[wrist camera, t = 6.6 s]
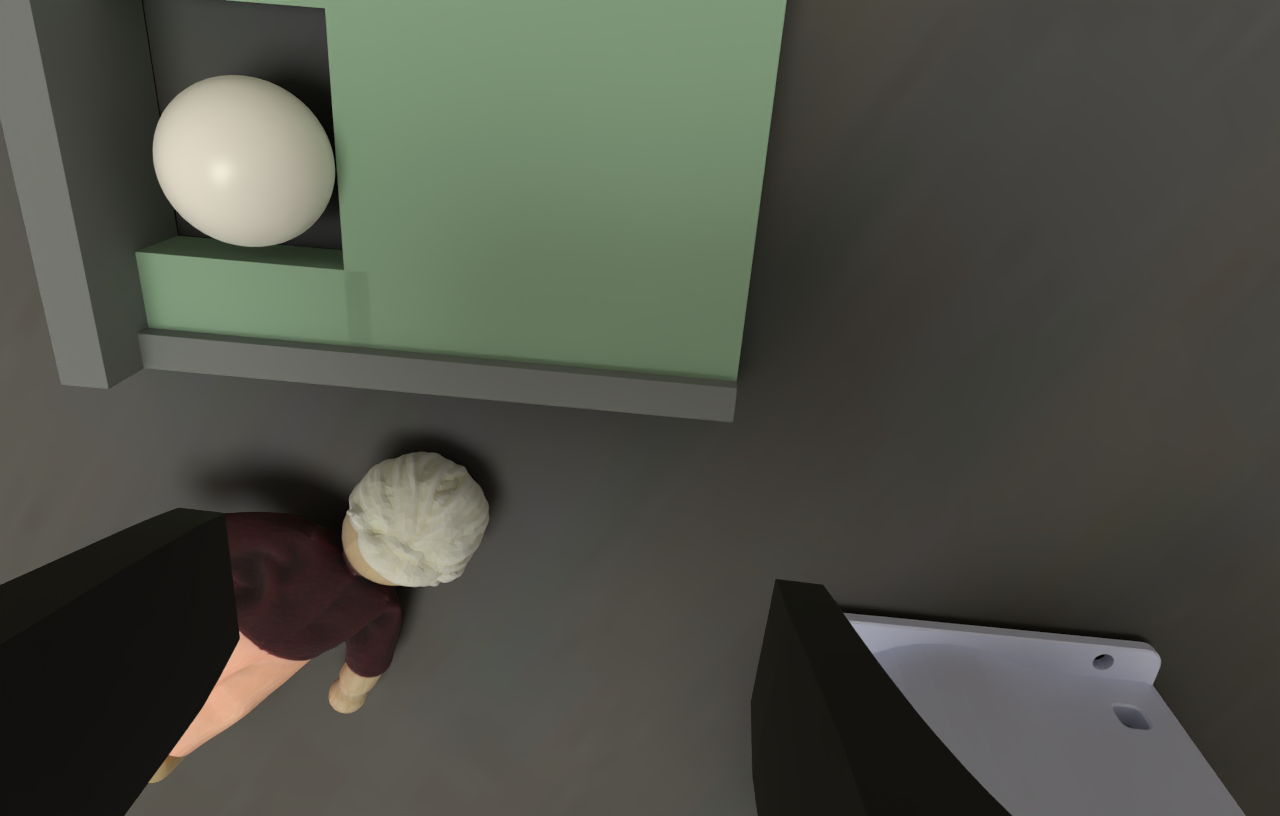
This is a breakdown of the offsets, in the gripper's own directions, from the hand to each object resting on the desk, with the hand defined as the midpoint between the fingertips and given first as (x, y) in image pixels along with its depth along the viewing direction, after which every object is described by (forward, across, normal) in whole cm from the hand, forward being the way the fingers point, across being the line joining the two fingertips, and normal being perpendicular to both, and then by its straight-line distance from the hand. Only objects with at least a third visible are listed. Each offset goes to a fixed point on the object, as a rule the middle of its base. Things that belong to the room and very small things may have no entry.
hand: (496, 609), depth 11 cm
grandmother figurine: (+8, +12, +11) cm, 19 cm away
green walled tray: (+10, +4, -4) cm, 11 cm away
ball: (+8, +7, -4) cm, 11 cm away
